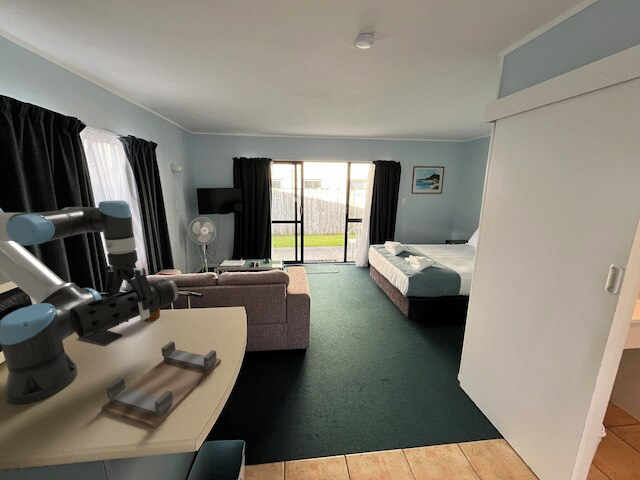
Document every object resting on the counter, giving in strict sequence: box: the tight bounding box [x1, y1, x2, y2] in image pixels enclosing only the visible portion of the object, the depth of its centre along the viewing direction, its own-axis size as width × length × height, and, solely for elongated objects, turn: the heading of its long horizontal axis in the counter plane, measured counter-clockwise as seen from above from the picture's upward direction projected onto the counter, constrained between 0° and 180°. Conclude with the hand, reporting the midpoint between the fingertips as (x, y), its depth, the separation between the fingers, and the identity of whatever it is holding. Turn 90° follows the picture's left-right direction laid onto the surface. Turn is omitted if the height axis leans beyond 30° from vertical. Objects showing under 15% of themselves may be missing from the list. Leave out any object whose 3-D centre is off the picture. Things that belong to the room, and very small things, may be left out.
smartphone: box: [78, 329, 124, 347], centre depth 106 cm, size 7×1×15 cm
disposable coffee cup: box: [143, 308, 161, 323], centre depth 119 cm, size 10×10×12 cm
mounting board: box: [100, 341, 222, 429], centre depth 82 cm, size 18×26×6 cm
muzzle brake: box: [70, 278, 179, 339], centre depth 90 cm, size 10×28×10 cm, turn 148°
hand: (132, 315), depth 91 cm, fingers closed on muzzle brake, 10 cm apart
